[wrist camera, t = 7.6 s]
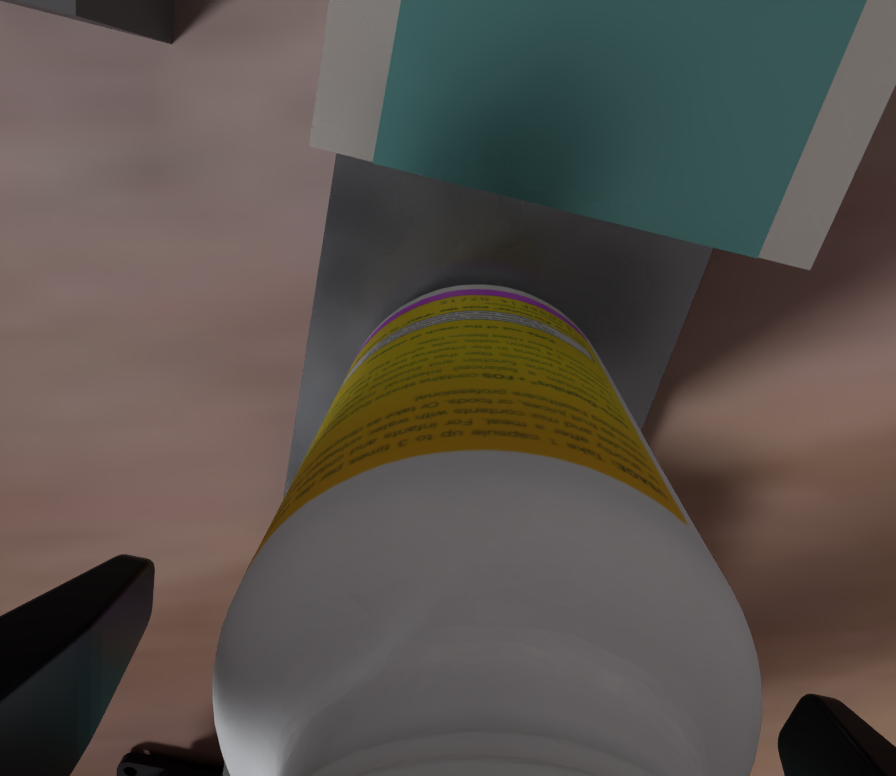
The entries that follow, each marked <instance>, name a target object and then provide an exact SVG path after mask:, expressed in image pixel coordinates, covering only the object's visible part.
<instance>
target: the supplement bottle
mask: <svg viewBox="0 0 896 776" xmlns="http://www.w3.org/2000/svg"><path fill="white" fill-rule="evenodd" d="M213 708H214V720H215V727H216V731H217V735H218V740H219V744H220V748H221V752H222V755H223V758H224V761H225V764H226V766H227V769H228V771H229V774H230V776H749V775H750V772H751V769H752V767H753V764H754V761H755V756H756V751H757V746H758V741H759V736H760V730H761V720H762V686H761V674H760V668H759V663H758V657H757V653H756V650H755V646H754V642H753V639H752V635H751V632H750V629H749V627H748V624H747V621H746V618H745V616H744V613H743V611H742V609H741V607H740V605H739V603H738V601H737V599H736V597H735V595H734V593H733V591H732V589H731V587H730V585H729V584H728V582H727V580H726V579H725V577H724V575H723V574H722V572H721V570H720V568H719V567H718V565H717V563H716V562H715V560H714V558H713V557H712V555H711V553H710V552H709V550H708V548H707V546H706V545H705V543H704V541H703V540H702V538H701V536H700V535H699V533H698V531H697V529H696V528H695V526H694V524H693V523H692V521H691V519H690V517H689V516H688V514H687V512H686V510H685V509H684V507H683V505H682V503H681V502H680V500H679V498H678V496H677V495H676V493H675V491H674V489H673V488H672V486H671V484H670V482H669V481H668V479H667V477H666V475H665V474H664V472H663V470H662V469H661V467H660V465H659V463H658V461H657V460H656V458H655V456H654V454H653V452H652V451H651V449H650V447H649V445H648V443H647V441H646V440H645V438H644V436H643V434H642V432H641V431H640V429H639V427H638V425H637V423H636V422H635V420H634V418H633V416H632V414H631V413H630V411H629V409H628V407H627V406H626V404H625V402H624V400H623V398H622V397H621V395H620V393H619V391H618V389H617V388H616V386H615V384H614V382H613V380H612V379H611V377H610V375H609V373H608V371H607V370H606V368H605V366H604V365H603V363H602V361H601V359H600V358H599V356H598V354H597V352H596V351H595V349H594V348H593V346H592V345H591V343H590V341H589V340H588V339H587V338H586V336H585V335H584V334H583V332H582V331H581V330H580V329H579V328H578V327H577V326H576V325H575V324H574V323H573V322H572V321H571V320H570V319H569V318H568V317H567V316H566V315H564V314H563V313H562V312H561V311H559V310H558V309H556V308H555V307H553V306H552V305H550V304H548V303H547V302H545V301H543V300H541V299H539V298H537V297H535V296H532V295H530V294H528V293H525V292H523V291H519V290H515V289H512V288H507V287H502V286H494V285H484V284H480V285H460V286H453V287H448V288H443V289H439V290H436V291H433V292H430V293H428V294H425V295H422V296H420V297H418V298H416V299H414V300H412V301H410V302H409V303H407V304H405V305H403V306H402V307H400V308H399V309H398V310H396V311H395V312H393V313H392V314H391V315H390V316H388V317H387V318H386V319H385V320H384V321H383V322H382V323H381V324H380V325H379V326H378V327H377V328H376V329H375V330H374V331H373V332H372V334H371V335H370V336H369V337H368V339H367V340H366V341H365V343H364V344H363V346H362V348H361V349H360V351H359V353H358V354H357V356H356V358H355V360H354V362H353V363H352V365H351V367H350V369H349V371H348V373H347V375H346V377H345V379H344V381H343V383H342V385H341V387H340V389H339V391H338V393H337V395H336V397H335V399H334V401H333V403H332V405H331V407H330V409H329V411H328V413H327V415H326V417H325V419H324V421H323V423H322V425H321V427H320V429H319V431H318V433H317V435H316V437H315V439H314V441H313V443H312V445H311V447H310V449H309V451H308V453H307V455H306V456H305V458H304V460H303V462H302V464H301V466H300V468H299V470H298V472H297V474H296V476H295V478H294V480H293V482H292V484H291V486H290V488H289V490H288V492H287V494H286V496H285V498H284V499H283V501H282V503H281V505H280V507H279V509H278V511H277V513H276V515H275V517H274V519H273V521H272V523H271V525H270V527H269V529H268V531H267V533H266V534H265V536H264V538H263V540H262V542H261V544H260V546H259V548H258V550H257V552H256V553H255V555H254V557H253V559H252V561H251V563H250V565H249V567H248V568H247V571H246V573H245V575H244V577H243V580H242V582H241V584H240V586H239V588H238V590H237V592H236V594H235V596H234V598H233V600H232V603H231V605H230V607H229V609H228V612H227V615H226V618H225V621H224V623H223V626H222V629H221V633H220V637H219V642H218V647H217V652H216V658H215V663H214V669H213Z"/></svg>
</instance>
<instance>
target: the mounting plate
mask: <svg viewBox="0 0 896 776" xmlns="http://www.w3.org/2000/svg"><path fill="white" fill-rule="evenodd" d="M895 85H896V0H329V5H328V12H327V20H326V27H325V34H324V41H323V49H322V56H321V63H320V71H319V78H318V85H317V92H316V100H315V107H314V114H313V122H312V129H311V136H310V143H309V146H310V147H314V148H318V149H322V150H326V151H330V152H334V153H337V154H336V160H335V167H334V173H333V180H332V186H331V193H330V199H329V206H328V212H327V219H326V225H325V232H324V238H323V245H322V251H321V258H320V264H319V271H318V277H317V284H316V290H315V297H314V303H313V310H312V316H311V323H310V329H309V336H308V342H307V349H306V355H305V362H304V368H303V375H302V381H301V387H300V394H299V400H298V407H297V413H296V420H295V426H294V433H293V439H292V446H291V452H290V459H289V465H288V472H287V478H286V485H285V491H284V498H285V496H286V494H287V492H288V490H289V488H290V486H291V484H292V482H293V480H294V478H295V476H296V474H297V472H298V470H299V468H300V466H301V464H302V462H303V460H304V458H305V456H306V455H307V453H308V451H309V449H310V447H311V445H312V443H313V441H314V439H315V437H316V435H317V433H318V431H319V429H320V427H321V425H322V423H323V421H324V419H325V417H326V415H327V413H328V411H329V409H330V407H331V405H332V403H333V401H334V399H335V397H336V395H337V393H338V391H339V389H340V387H341V385H342V383H343V381H344V379H345V377H346V375H347V373H348V371H349V369H350V367H351V365H352V363H353V362H354V360H355V358H356V356H357V354H358V353H359V351H360V349H361V348H362V346H363V344H364V343H365V341H366V340H367V339H368V337H369V336H370V335H371V334H372V332H373V331H374V330H375V329H376V328H377V327H378V326H379V325H380V324H381V323H382V322H383V321H384V320H385V319H386V318H387V317H388V316H390V315H391V314H392V313H393V312H395V311H396V310H398V309H399V308H400V307H402V306H403V305H405V304H407V303H409V302H410V301H412V300H414V299H416V298H418V297H420V296H422V295H425V294H428V293H430V292H433V291H436V290H439V289H443V288H448V287H453V286H460V285H480V284H484V285H494V286H502V287H507V288H512V289H515V290H519V291H523V292H525V293H528V294H530V295H532V296H535V297H537V298H539V299H541V300H543V301H545V302H547V303H548V304H550V305H552V306H553V307H555V308H556V309H558V310H559V311H561V312H562V313H563V314H564V315H566V316H567V317H568V318H569V319H570V320H571V321H572V322H573V323H574V324H575V325H576V326H577V327H578V328H579V329H580V330H581V331H582V332H583V334H584V335H585V336H586V338H587V339H588V340H589V341H590V343H591V345H592V346H593V348H594V349H595V351H596V352H597V354H598V356H599V358H600V359H601V361H602V363H603V365H604V366H605V368H606V370H607V371H608V373H609V375H610V377H611V379H612V380H613V382H614V384H615V386H616V388H617V389H618V391H619V393H620V395H621V397H622V398H623V400H624V402H625V404H626V406H627V407H628V409H629V411H630V413H631V414H632V416H633V418H634V420H635V422H636V423H637V425H638V427H639V429H640V431H641V430H642V428H643V425H644V423H645V420H646V418H647V415H648V413H649V410H650V408H651V405H652V403H653V400H654V398H655V395H656V392H657V390H658V387H659V385H660V382H661V380H662V377H663V375H664V372H665V370H666V367H667V365H668V362H669V360H670V357H671V354H672V352H673V349H674V347H675V344H676V342H677V339H678V337H679V334H680V332H681V329H682V327H683V324H684V322H685V319H686V316H687V314H688V311H689V309H690V306H691V304H692V301H693V299H694V296H695V294H696V291H697V289H698V286H699V284H700V281H701V279H702V276H703V273H704V271H705V268H706V266H707V263H708V261H709V258H710V256H711V253H712V251H713V248H716V249H721V250H725V251H729V252H733V253H737V254H741V255H745V256H749V257H753V258H762V259H766V260H770V261H774V262H778V263H782V264H786V265H790V266H794V267H798V268H802V269H806V270H811V268H812V266H813V263H814V261H815V259H816V257H817V255H818V253H819V250H820V248H821V246H822V244H823V242H824V239H825V237H826V235H827V233H828V231H829V229H830V226H831V224H832V222H833V220H834V218H835V216H836V213H837V211H838V209H839V207H840V205H841V203H842V200H843V198H844V196H845V194H846V192H847V190H848V187H849V185H850V183H851V181H852V179H853V177H854V174H855V172H856V170H857V168H858V166H859V164H860V161H861V159H862V157H863V155H864V153H865V150H866V148H867V146H868V144H869V142H870V140H871V137H872V135H873V133H874V131H875V129H876V127H877V124H878V122H879V120H880V118H881V116H882V114H883V111H884V109H885V107H886V105H887V103H888V101H889V98H890V96H891V94H892V92H893V90H894V88H895ZM284 498H283V499H284ZM223 776H230V774H229V771H228V769H227V766H226V764H225V762H224V769H223Z"/></svg>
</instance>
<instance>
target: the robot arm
mask: <svg viewBox="0 0 896 776" xmlns="http://www.w3.org/2000/svg"><path fill="white" fill-rule="evenodd" d="M154 574H155V567H154V563H153V562H152V561H151V560H150V559H146V558H141V557H136V556H132V555H127V554H122V555H118V556H116V557H114V558H112V559H110V560H108V561H106V562H104V563H102V564H100V565H98V566H96V567H94V568H92V569H90V570H89V571H87V572H85V573H83V574H81V575H79V576H77V577H75V578H73V579H71V580H69V581H67V582H65V583H63V584H61V585H60V586H58V587H56V588H54V589H52V590H50V591H48V592H46V593H44V594H42V595H40V596H38V597H36V598H34V599H32V600H31V601H29V602H27V603H25V604H23V605H21V606H19V607H17V608H15V609H13V610H11V611H9V612H7V613H5V614H3V615H2V616H0V776H70V774H71V773H72V771H73V770H74V768H75V766H76V765H77V763H78V761H79V760H80V758H81V756H82V755H83V753H84V751H85V750H86V748H87V746H88V744H89V743H90V741H91V739H92V737H93V735H94V733H95V731H96V729H97V727H98V725H99V723H100V721H101V719H102V717H103V715H104V713H105V711H106V709H107V707H108V705H109V703H110V701H111V699H112V697H113V695H114V693H115V691H116V689H117V687H118V685H119V683H120V680H121V678H122V676H123V674H124V672H125V670H126V668H127V666H128V664H129V662H130V660H131V658H132V656H133V654H134V652H135V650H136V648H137V646H138V644H139V642H140V640H141V638H142V636H143V634H144V631H145V629H146V627H147V625H148V622H149V620H150V616H151V612H152V604H153V589H154ZM778 751H779V756H780V759H781V763H782V767H783V771H784V774H785V776H896V747H895V746H894V745H892V744H891V743H890V742H889V741H888V740H886V739H885V738H884V737H883V736H882V735H880V734H879V733H878V732H877V731H876V730H874V729H873V728H872V727H871V726H870V725H868V724H867V723H866V722H865V721H864V720H862V719H861V718H860V717H859V716H858V715H857V714H855V713H854V712H853V711H852V710H851V709H849V708H848V707H847V706H846V705H845V704H843V703H842V702H841V701H839V700H837V699H834V698H831V697H826V696H821V695H816V694H807V695H805V696H803V697H802V698H801V699H800V700H799V702H798V703H797V705H796V707H795V708H794V710H793V711H792V713H791V715H790V716H789V718H788V720H787V721H786V723H785V724H784V726H783V728H782V729H781V731H780V733H779V737H778ZM117 776H223V769H222V768H217V767H211V766H206V765H200V764H195V763H189V762H184V761H178V760H173V759H167V758H162V757H156V756H151V755H145V754H140V753H127V754H126V755H124V756H123V758H122V760H121V762H120V764H119V765H118V768H117Z"/></svg>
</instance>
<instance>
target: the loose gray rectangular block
mask: <svg viewBox="0 0 896 776" xmlns="http://www.w3.org/2000/svg"><path fill="white" fill-rule="evenodd" d="M0 1H4V2H8V3H12V4H16V5H20V6H24V7H28V8H32V9H35V10H39V11H43V12H47V13H51V14H55V15H59V16H63V17H67V18H71V19H75V20H79V21H83V22H87V23H91V24H94V25H98V26H102V27H106V28H110V29H114V30H118V31H122V32H126V33H130V34H134V35H138V36H142V37H146V38H150V39H153V40H157V41H161V42H165V43H169V44H172V31H173V12H174V0H0Z"/></svg>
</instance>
